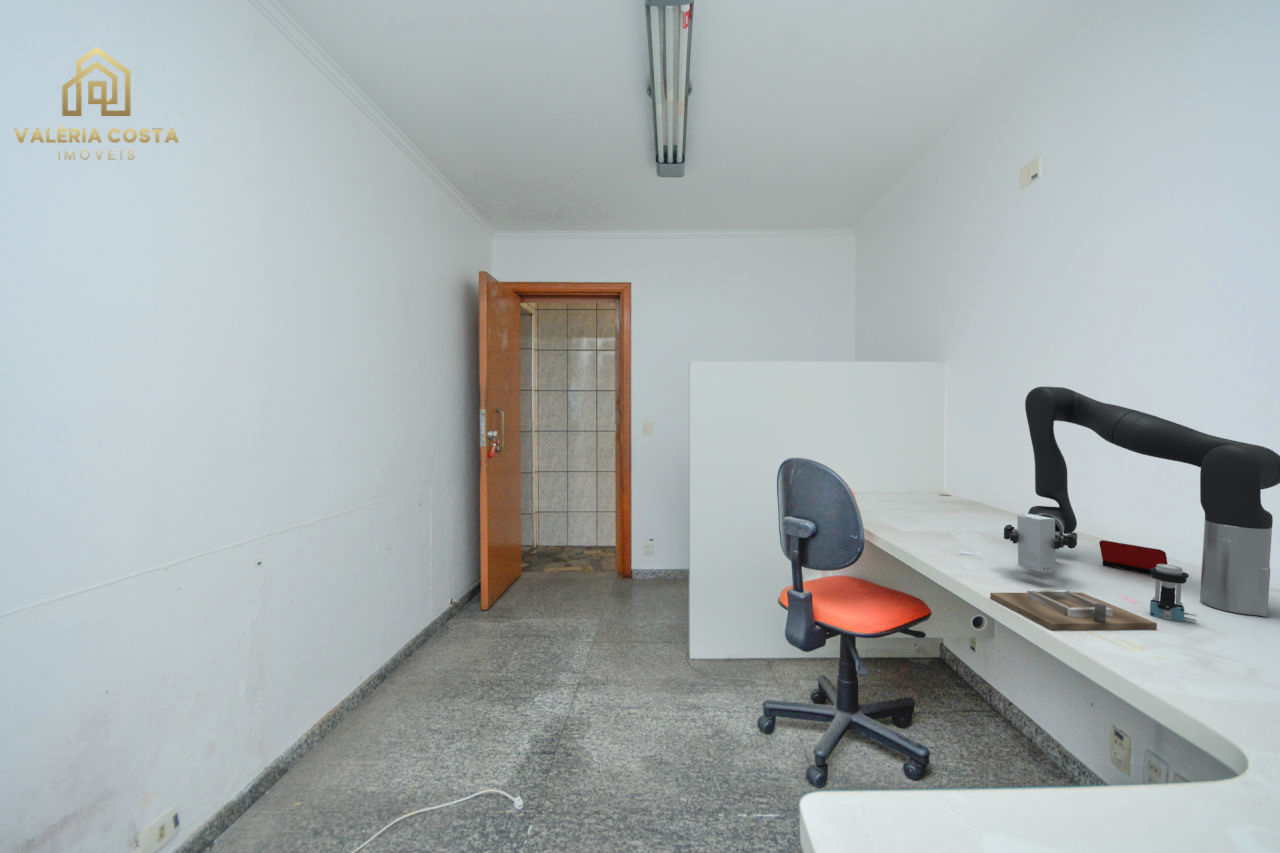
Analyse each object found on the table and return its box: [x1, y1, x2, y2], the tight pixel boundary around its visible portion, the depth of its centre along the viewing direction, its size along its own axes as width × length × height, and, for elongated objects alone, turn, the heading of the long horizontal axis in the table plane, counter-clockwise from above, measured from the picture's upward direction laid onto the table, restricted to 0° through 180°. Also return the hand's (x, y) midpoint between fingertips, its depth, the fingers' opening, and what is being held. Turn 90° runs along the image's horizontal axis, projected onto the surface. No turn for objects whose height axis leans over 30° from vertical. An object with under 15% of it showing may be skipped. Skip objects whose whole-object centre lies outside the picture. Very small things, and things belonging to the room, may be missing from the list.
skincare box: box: [1016, 513, 1056, 574], centre depth 124 cm, size 6×4×12 cm
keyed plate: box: [989, 589, 1158, 631], centre depth 107 cm, size 20×16×4 cm
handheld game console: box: [1098, 539, 1168, 576], centre depth 136 cm, size 12×11×7 cm
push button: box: [1149, 563, 1197, 623], centre depth 104 cm, size 7×5×10 cm
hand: (1035, 541), depth 122 cm, fingers closed on skincare box, 7 cm apart
